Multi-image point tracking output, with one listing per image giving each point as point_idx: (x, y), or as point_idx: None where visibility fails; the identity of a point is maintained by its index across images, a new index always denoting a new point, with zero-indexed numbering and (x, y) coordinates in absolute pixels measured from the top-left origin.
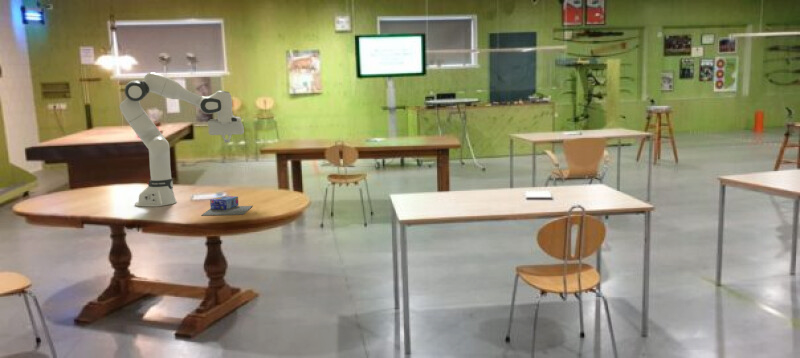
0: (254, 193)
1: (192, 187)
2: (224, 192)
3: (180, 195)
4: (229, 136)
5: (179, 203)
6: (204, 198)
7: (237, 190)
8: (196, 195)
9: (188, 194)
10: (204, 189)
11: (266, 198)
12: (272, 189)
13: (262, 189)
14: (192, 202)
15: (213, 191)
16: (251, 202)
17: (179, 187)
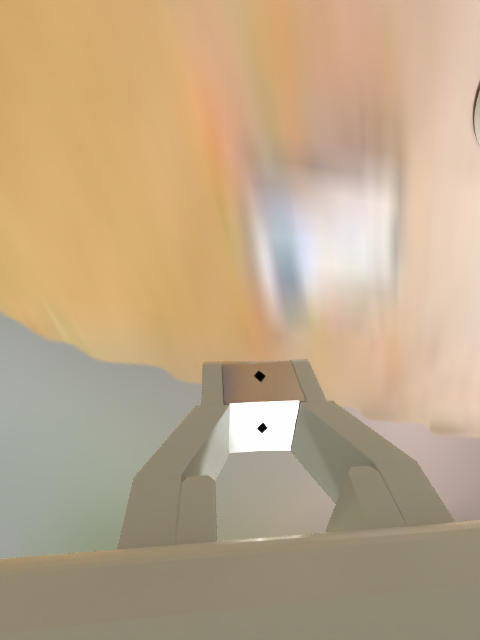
0: (140, 282)
1: (396, 402)
2: (276, 316)
3: (442, 279)
4: (172, 478)
5: (462, 70)
6: (344, 196)
7: (233, 346)
8: (381, 270)
9: (411, 294)
10: (356, 372)
11: (16, 141)
12: (95, 352)
13: (138, 355)
14: (396, 89)
15: (321, 338)
16: (49, 10)
17: (436, 405)
